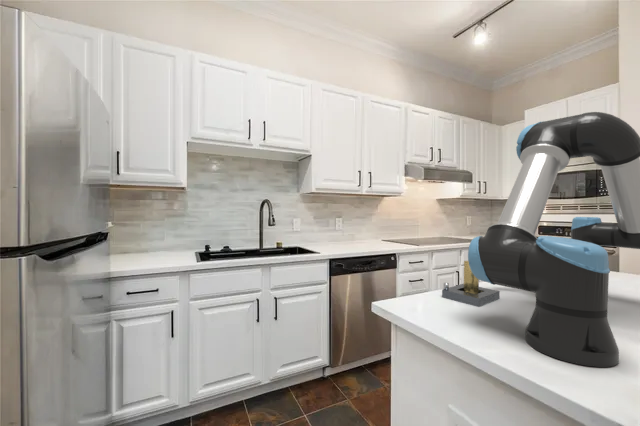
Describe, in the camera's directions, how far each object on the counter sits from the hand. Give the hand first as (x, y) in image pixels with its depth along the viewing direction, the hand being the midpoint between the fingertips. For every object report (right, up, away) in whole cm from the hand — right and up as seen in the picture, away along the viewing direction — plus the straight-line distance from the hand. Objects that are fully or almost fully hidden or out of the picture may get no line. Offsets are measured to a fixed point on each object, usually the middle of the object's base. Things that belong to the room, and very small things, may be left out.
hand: (499, 261), depth 100 cm
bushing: (-10, -12, -1) cm, 16 cm away
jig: (-10, -12, -1) cm, 16 cm away
